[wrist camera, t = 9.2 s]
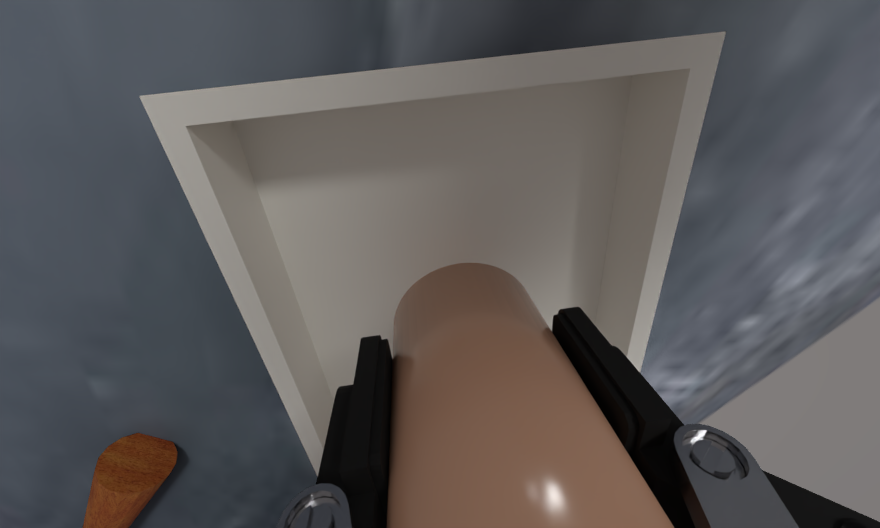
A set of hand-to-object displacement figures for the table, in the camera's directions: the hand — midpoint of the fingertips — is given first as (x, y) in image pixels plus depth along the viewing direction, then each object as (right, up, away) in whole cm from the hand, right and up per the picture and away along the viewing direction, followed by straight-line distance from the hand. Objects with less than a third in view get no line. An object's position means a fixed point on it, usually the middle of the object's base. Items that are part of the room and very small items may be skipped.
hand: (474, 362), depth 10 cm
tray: (0, +2, +6) cm, 6 cm away
